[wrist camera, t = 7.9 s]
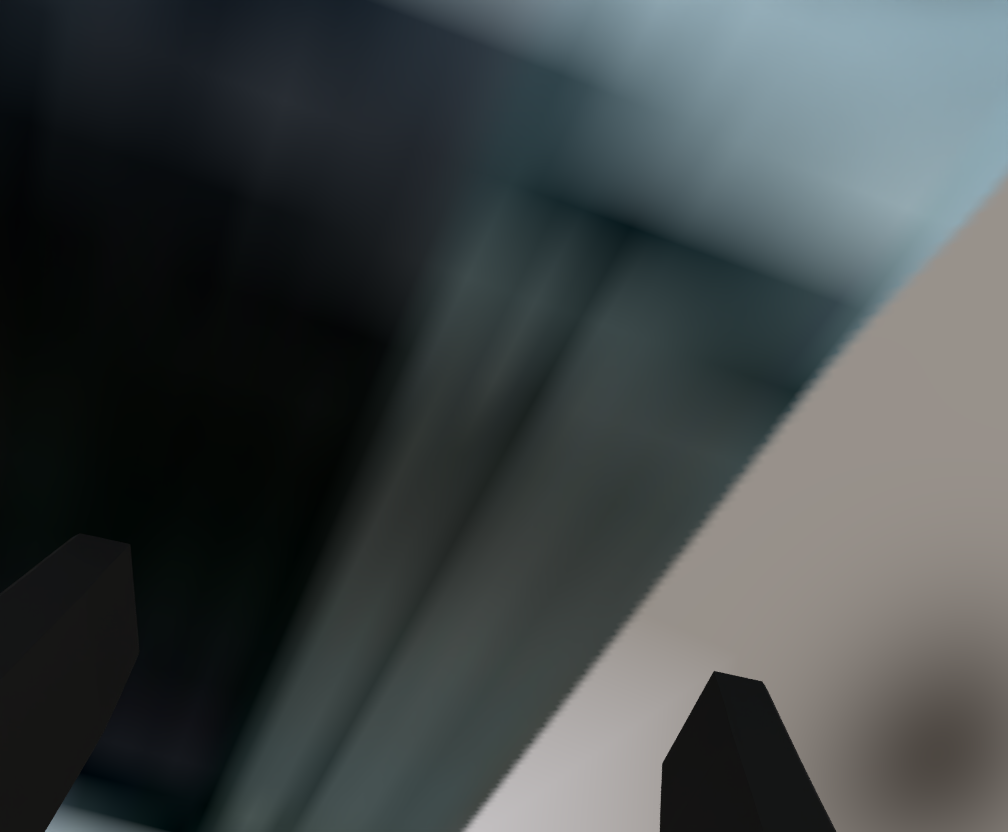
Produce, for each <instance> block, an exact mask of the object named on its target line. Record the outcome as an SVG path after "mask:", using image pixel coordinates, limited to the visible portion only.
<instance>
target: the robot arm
mask: <svg viewBox="0 0 1008 832" xmlns="http://www.w3.org/2000/svg"><path fill="white" fill-rule="evenodd" d="M138 654H139V642H138V630H137V619H136V607H135V595H134V583H133V571H132V560H131V548H130V544H127V543H122V542H117V541H113V540H108V539H104V538H99V537H94V536H90V535H85V534H81V533H80V534H78V535H76V536H74V537H72V538H71V539H70V540H68V541H67V542H66V543H64V544H63V545H62V546H61V547H59V548H58V549H57V550H55V551H54V552H53V553H52V554H50V555H49V556H48V557H46V558H45V559H44V560H43V561H41V562H40V563H39V564H38V565H36V566H35V567H34V568H32V569H31V570H30V571H29V572H27V573H26V574H25V575H23V576H22V577H21V578H20V579H18V580H17V581H16V582H14V583H13V584H12V585H11V586H9V587H8V588H7V589H5V590H4V591H3V592H2V593H0V832H45V830H46V829H47V827H48V825H49V824H50V822H51V820H52V819H53V817H54V815H55V814H56V812H57V810H58V809H59V807H60V805H61V804H62V802H63V800H64V799H65V797H66V795H67V794H68V792H69V790H70V788H71V787H72V785H73V783H74V782H75V780H76V778H77V777H78V775H79V773H80V771H81V770H82V768H83V766H84V765H85V763H86V761H87V760H88V758H89V756H90V754H91V753H92V751H93V749H94V748H95V746H96V744H97V742H98V741H99V739H100V737H101V735H102V734H103V732H104V730H105V728H106V725H107V723H108V721H109V719H110V717H111V715H112V713H113V710H114V708H115V706H116V704H117V702H118V700H119V697H120V695H121V693H122V691H123V688H124V686H125V684H126V681H127V679H128V677H129V675H130V672H131V670H132V668H133V665H134V663H135V661H136V659H137V656H138ZM660 809H661V810H660V832H836V830H835V828H834V826H833V824H832V823H831V820H830V818H829V816H828V814H827V812H826V810H825V809H824V806H823V805H822V803H821V801H820V798H819V797H818V794H817V793H816V791H815V788H814V786H813V784H812V782H811V780H810V778H809V776H808V774H807V772H806V770H805V768H804V766H803V764H802V762H801V760H800V758H799V756H798V754H797V751H796V749H795V747H794V745H793V743H792V741H791V739H790V737H789V735H788V733H787V730H786V728H785V726H784V724H783V722H782V720H781V718H780V716H779V713H778V711H777V709H776V707H775V705H774V703H773V701H772V699H771V697H770V695H769V692H768V690H767V689H766V687H765V685H764V684H763V682H762V681H758V680H753V679H748V678H744V677H739V676H735V675H730V674H725V673H721V672H716V671H714V672H713V674H712V676H711V677H710V679H709V681H708V683H707V684H706V686H705V688H704V690H703V692H702V694H701V695H700V697H699V699H698V701H697V702H696V704H695V706H694V708H693V710H692V711H691V713H690V715H689V717H688V719H687V720H686V722H685V724H684V726H683V728H682V729H681V731H680V733H679V735H678V736H677V738H676V740H675V742H674V744H673V745H672V747H671V749H670V751H669V752H668V754H667V756H666V758H665V760H664V761H663V764H662V785H661V808H660Z"/></svg>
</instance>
